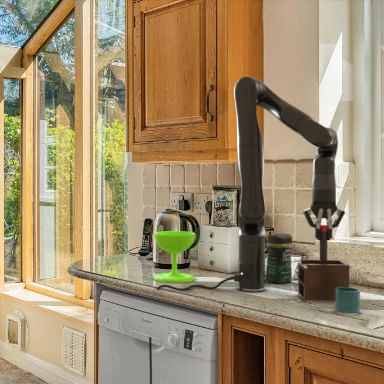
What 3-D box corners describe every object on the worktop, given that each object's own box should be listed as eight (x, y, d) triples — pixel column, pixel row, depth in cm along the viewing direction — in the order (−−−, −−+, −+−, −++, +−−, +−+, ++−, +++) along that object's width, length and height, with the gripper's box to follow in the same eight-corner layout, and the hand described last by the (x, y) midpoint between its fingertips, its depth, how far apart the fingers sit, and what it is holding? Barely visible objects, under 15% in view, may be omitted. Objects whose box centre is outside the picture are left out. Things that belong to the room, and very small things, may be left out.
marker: (320, 261, 195) (320, 225, 195) (318, 260, 197) (319, 224, 197) (328, 261, 195) (328, 225, 194) (326, 260, 197) (326, 224, 197)
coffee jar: (278, 284, 220) (279, 235, 220) (262, 281, 227) (262, 233, 226) (295, 282, 226) (296, 233, 225) (279, 279, 232) (280, 231, 232)
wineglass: (202, 281, 228) (202, 234, 227) (163, 283, 222) (164, 236, 222) (184, 274, 243) (184, 230, 242) (147, 276, 237) (148, 231, 237)
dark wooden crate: (304, 301, 192) (304, 264, 191) (298, 294, 203) (298, 259, 202) (348, 302, 190) (349, 265, 190) (340, 295, 201) (340, 260, 201)
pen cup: (337, 315, 174) (338, 291, 174) (332, 309, 181) (332, 286, 181) (362, 315, 173) (362, 292, 173) (355, 310, 180) (356, 287, 180)
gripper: (342, 187, 198) (342, 239, 199) (300, 187, 200) (299, 238, 200) (348, 188, 191) (348, 241, 191) (304, 188, 192) (304, 241, 193)
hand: (323, 239), depth 196 cm, fingers closed on marker, 2 cm apart
